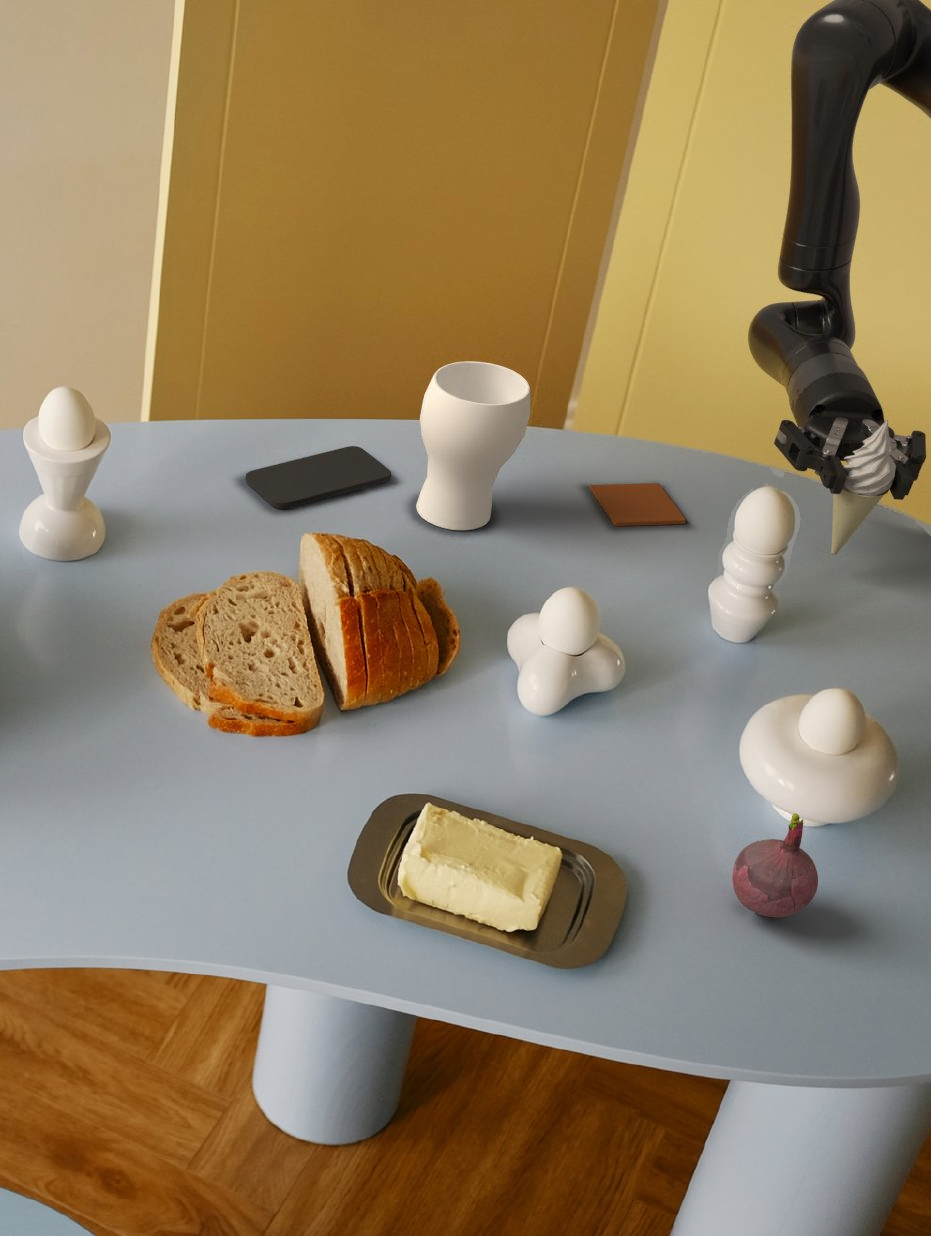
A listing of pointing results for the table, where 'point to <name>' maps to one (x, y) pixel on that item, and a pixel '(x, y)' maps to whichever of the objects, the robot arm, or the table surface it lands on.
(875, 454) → the ice cream cone
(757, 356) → the robot arm
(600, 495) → the cork mat
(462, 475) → the cup
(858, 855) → the table surface
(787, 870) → the vegetable
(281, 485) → the phone
